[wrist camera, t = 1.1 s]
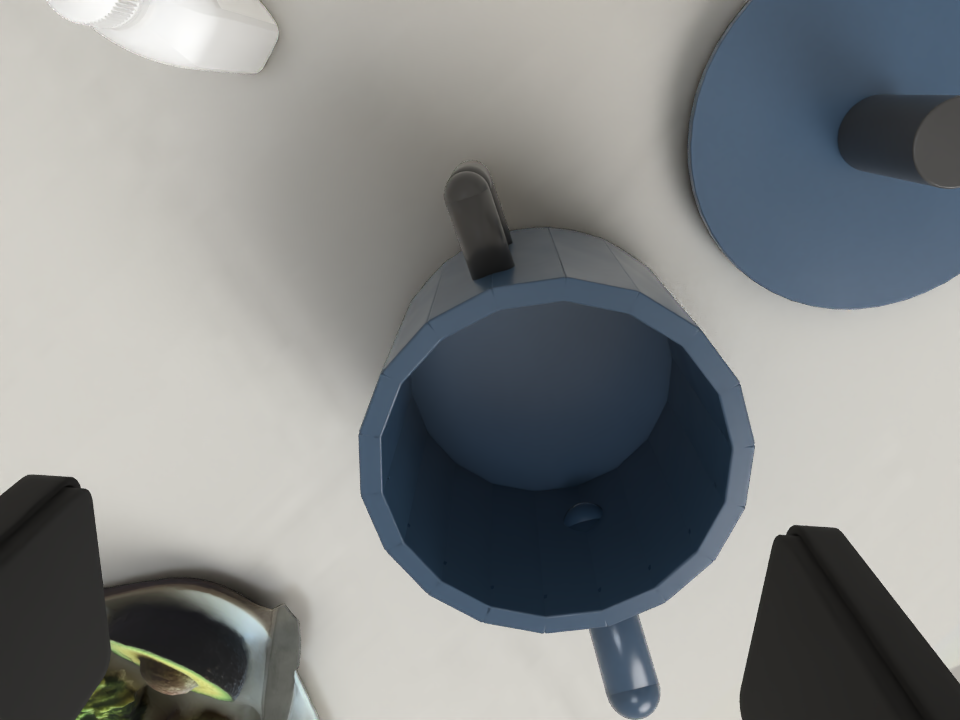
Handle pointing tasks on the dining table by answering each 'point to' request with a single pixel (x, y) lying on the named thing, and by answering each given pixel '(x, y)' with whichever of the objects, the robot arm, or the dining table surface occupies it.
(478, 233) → the teapot spout and handle
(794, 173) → the teapot lid
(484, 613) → the teapot
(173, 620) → the salad plate
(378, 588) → the dining table surface
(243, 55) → the eye dropper bottle
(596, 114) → the dining table surface
